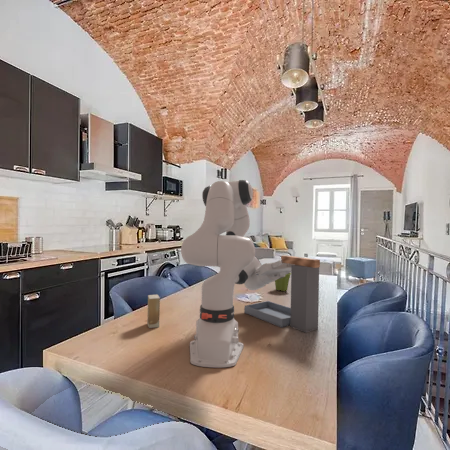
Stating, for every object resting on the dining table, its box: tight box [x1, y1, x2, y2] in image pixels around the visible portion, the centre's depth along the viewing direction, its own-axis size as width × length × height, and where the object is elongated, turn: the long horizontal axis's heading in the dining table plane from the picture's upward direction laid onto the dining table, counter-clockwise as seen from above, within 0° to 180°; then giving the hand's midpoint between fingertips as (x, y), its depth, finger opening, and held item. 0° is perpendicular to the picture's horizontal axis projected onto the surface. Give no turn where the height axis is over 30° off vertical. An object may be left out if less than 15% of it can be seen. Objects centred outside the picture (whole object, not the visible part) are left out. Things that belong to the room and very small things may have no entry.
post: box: [289, 265, 320, 333], centre depth 122 cm, size 8×8×26 cm
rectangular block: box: [280, 255, 321, 268], centre depth 125 cm, size 18×3×3 cm, turn 37°
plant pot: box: [274, 272, 291, 292], centre depth 190 cm, size 12×12×11 cm
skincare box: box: [146, 294, 161, 329], centre depth 122 cm, size 6×4×12 cm
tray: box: [243, 300, 291, 328], centre depth 136 cm, size 24×16×4 cm, turn 37°
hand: (288, 260), depth 129 cm, fingers open, 8 cm apart
